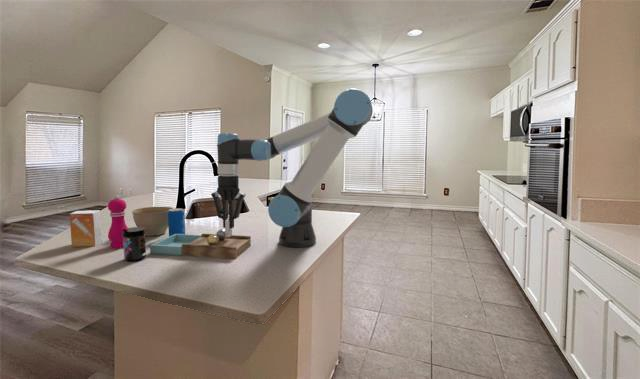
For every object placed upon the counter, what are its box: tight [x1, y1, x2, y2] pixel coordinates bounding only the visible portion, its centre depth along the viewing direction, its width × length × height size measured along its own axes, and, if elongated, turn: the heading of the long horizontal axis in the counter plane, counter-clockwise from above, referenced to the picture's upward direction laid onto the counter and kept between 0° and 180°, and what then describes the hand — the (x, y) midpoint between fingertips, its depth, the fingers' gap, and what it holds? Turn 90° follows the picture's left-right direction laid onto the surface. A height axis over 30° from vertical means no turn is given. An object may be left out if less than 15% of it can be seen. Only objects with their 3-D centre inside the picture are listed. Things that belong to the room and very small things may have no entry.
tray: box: [149, 233, 202, 257], centre depth 125 cm, size 12×16×3 cm
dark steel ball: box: [215, 228, 226, 240], centre depth 126 cm, size 4×4×4 cm
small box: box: [69, 209, 103, 248], centre depth 127 cm, size 8×6×13 cm
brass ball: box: [207, 235, 219, 246], centre depth 118 cm, size 4×4×4 cm
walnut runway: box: [182, 233, 252, 260], centre depth 122 cm, size 20×15×4 cm
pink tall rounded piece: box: [107, 194, 129, 250], centre depth 125 cm, size 7×7×20 cm
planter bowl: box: [131, 206, 174, 237], centre depth 144 cm, size 16×16×11 cm
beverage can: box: [168, 207, 186, 237], centre depth 139 cm, size 6×6×12 cm
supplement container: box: [122, 226, 147, 263], centre depth 112 cm, size 7×7×10 cm
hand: (228, 236), depth 126 cm, fingers closed
